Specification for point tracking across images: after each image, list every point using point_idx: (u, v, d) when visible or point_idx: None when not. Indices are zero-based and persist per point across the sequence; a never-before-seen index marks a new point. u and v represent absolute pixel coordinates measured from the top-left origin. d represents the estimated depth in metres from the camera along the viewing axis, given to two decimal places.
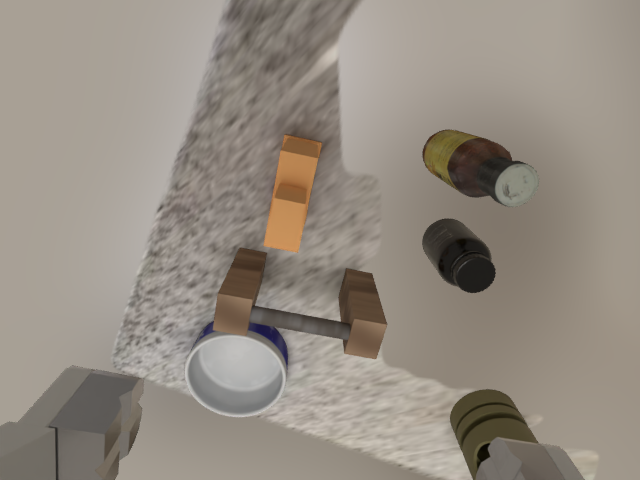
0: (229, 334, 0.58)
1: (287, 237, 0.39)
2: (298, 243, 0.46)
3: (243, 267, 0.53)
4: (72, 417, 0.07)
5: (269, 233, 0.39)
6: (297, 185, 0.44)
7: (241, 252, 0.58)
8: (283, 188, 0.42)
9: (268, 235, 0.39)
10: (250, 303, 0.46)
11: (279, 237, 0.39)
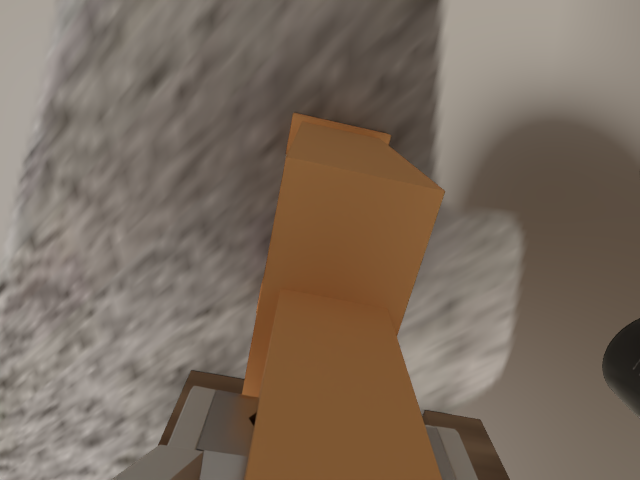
0: None
1: None
2: None
3: None
4: (215, 440, 0.07)
5: None
6: (351, 295, 0.11)
7: None
8: (298, 328, 0.09)
9: None
10: None
11: None
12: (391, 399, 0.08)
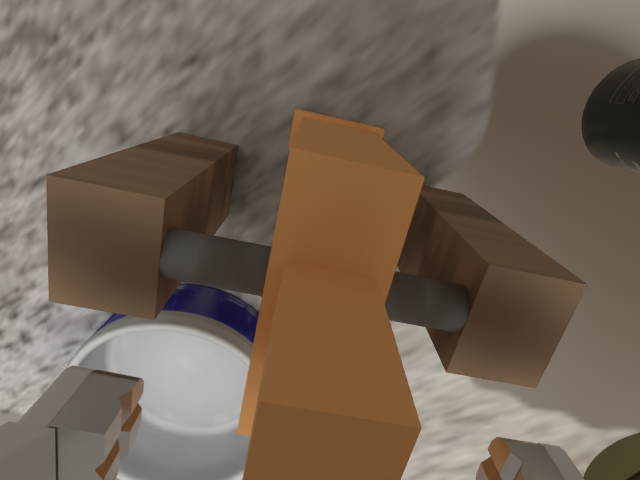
0: (152, 322, 0.26)
1: None
2: None
3: (170, 151, 0.21)
4: (73, 417, 0.07)
5: None
6: (346, 267, 0.13)
7: (177, 136, 0.25)
8: (300, 291, 0.11)
9: None
10: (158, 211, 0.14)
11: None
12: (375, 343, 0.10)
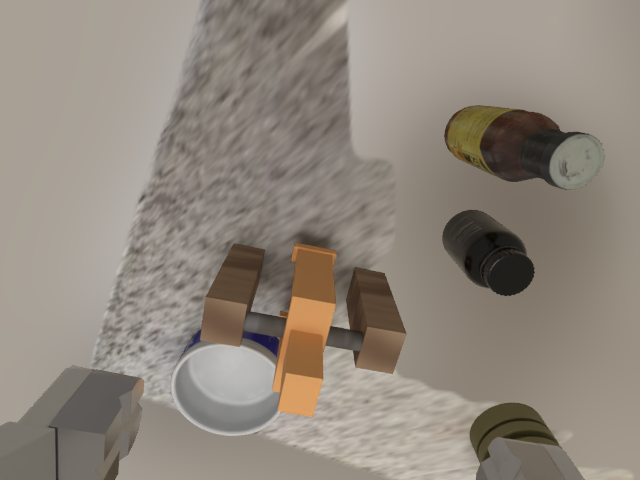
0: None
1: (301, 411, 0.34)
2: None
3: (237, 266, 0.46)
4: (72, 417, 0.07)
5: (280, 407, 0.33)
6: (311, 331, 0.38)
7: (235, 249, 0.50)
8: (295, 342, 0.36)
9: (279, 409, 0.33)
10: (244, 308, 0.39)
11: (292, 411, 0.34)
12: (316, 358, 0.34)
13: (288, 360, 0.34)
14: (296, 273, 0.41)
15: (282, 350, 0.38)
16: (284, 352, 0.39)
